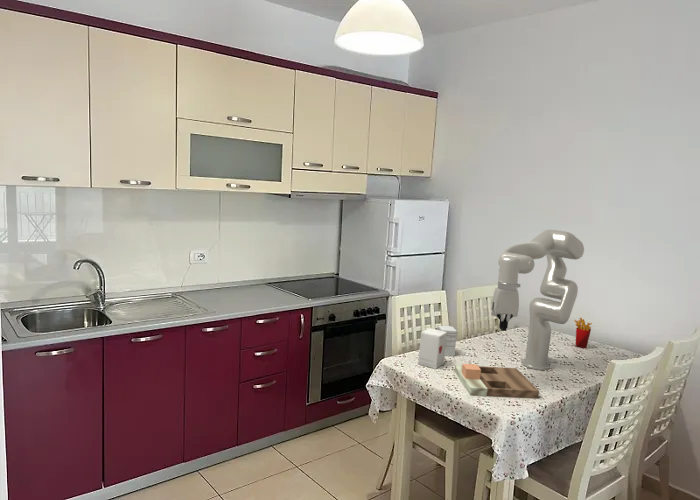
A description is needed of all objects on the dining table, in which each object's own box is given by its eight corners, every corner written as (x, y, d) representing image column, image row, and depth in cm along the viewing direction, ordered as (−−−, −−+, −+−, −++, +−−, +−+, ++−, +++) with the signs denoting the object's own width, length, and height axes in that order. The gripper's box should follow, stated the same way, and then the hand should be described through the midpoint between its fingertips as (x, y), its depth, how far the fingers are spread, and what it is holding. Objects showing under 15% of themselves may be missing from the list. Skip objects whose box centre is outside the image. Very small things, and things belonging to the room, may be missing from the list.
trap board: (515, 374, 225) (516, 368, 224) (538, 398, 201) (539, 391, 201) (454, 371, 223) (454, 365, 223) (470, 395, 199) (470, 387, 199)
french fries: (589, 346, 274) (593, 319, 272) (586, 350, 267) (590, 322, 265) (571, 342, 278) (575, 315, 276) (568, 346, 272) (572, 318, 269)
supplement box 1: (436, 369, 224) (439, 336, 222) (417, 364, 229) (420, 331, 227) (444, 364, 232) (447, 331, 230) (425, 359, 237) (428, 327, 235)
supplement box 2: (435, 350, 249) (438, 325, 247) (450, 351, 250) (453, 326, 248) (439, 356, 242) (441, 330, 240) (454, 356, 243) (457, 330, 241)
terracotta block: (475, 373, 214) (476, 364, 214) (479, 379, 208) (481, 369, 208) (461, 372, 214) (462, 363, 213) (465, 378, 208) (466, 369, 208)
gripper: (521, 284, 214) (517, 327, 217) (486, 283, 213) (482, 326, 216) (528, 289, 207) (524, 333, 210) (492, 288, 206) (488, 332, 209)
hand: (502, 329), depth 213 cm, fingers closed
